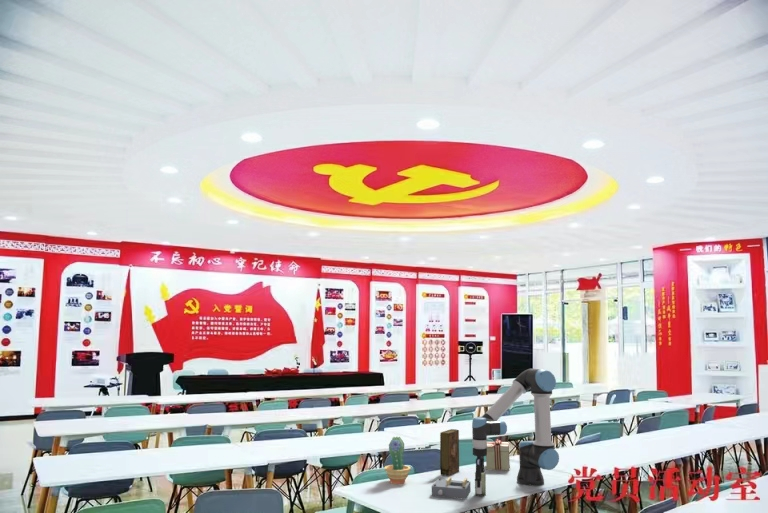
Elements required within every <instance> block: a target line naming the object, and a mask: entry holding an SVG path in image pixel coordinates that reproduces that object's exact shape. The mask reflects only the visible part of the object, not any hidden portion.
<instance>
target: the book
mask: <svg viewBox="0 0 768 513" xmlns="http://www.w3.org/2000/svg"><path fill="white" fill-rule="evenodd" d="M459 436H460V431H459V429H453V428H451V429H448V430H447V429H446V430H445V431H441V432H440V433H439V441H440V444H439V445H440V446H439V448H440V452H439V455H440V456H439V457H440V460H439V462H440V465H439V466H440V469H439V470H440V475H441V476H447V477H452V476H453V475H455V474H458V473H460V437H459Z"/></svg>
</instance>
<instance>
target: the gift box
mask: <svg viewBox="0 0 768 513" xmlns="http://www.w3.org/2000/svg"><path fill="white" fill-rule="evenodd" d="M486 449H487V455H486V456H485V461H486V462H485V463H486V464H485V465H486V466H485V467H486V468H485V469H486V470H488V471H510V470H511V466H510V442H508V441H502V440H500V439H498V438H496V439H495V441H487V447H486Z"/></svg>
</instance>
